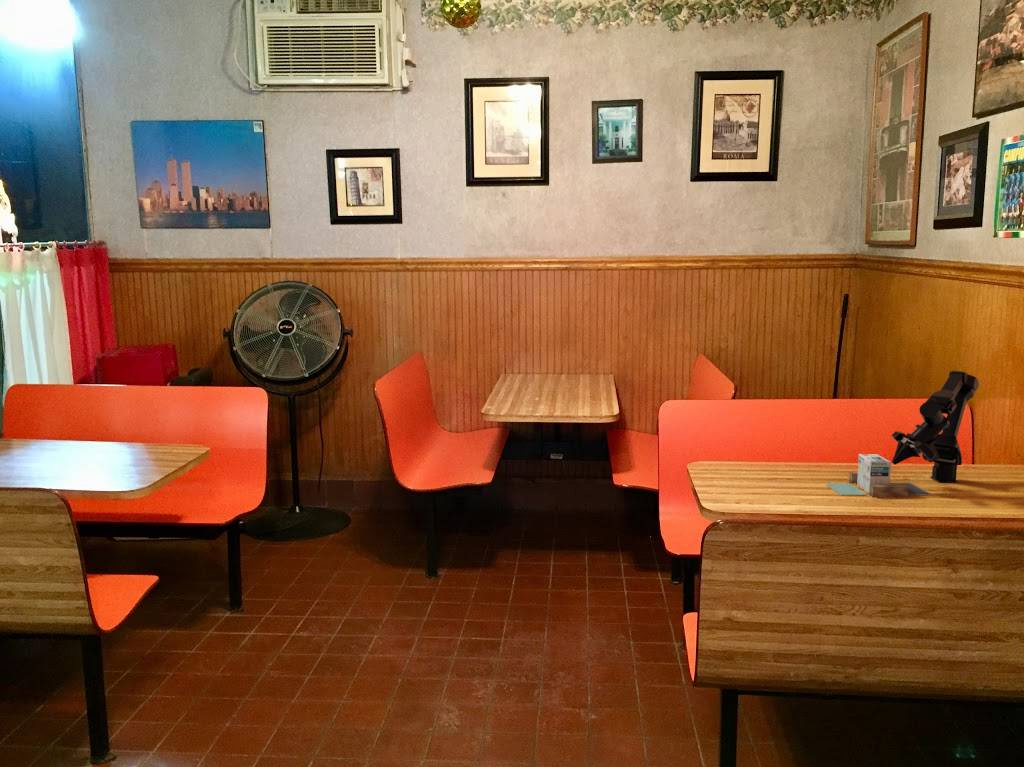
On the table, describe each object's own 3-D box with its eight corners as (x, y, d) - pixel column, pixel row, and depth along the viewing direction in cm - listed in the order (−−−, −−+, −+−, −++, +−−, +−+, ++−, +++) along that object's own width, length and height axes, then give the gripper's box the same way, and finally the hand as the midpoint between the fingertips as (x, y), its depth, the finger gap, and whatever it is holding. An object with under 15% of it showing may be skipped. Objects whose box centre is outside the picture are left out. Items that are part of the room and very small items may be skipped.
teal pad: (849, 484, 281) (849, 483, 281) (866, 495, 268) (866, 494, 268) (825, 484, 281) (825, 483, 281) (841, 495, 268) (841, 494, 268)
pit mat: (910, 483, 282) (910, 482, 282) (932, 495, 268) (932, 494, 268) (886, 483, 282) (887, 482, 282) (907, 495, 268) (907, 494, 268)
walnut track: (881, 481, 284) (882, 471, 283) (907, 497, 266) (908, 486, 266) (848, 482, 283) (849, 472, 283) (872, 497, 266) (873, 486, 265)
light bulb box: (890, 494, 269) (892, 461, 268) (868, 494, 270) (870, 461, 268) (876, 485, 280) (878, 453, 278) (855, 485, 280) (857, 453, 278)
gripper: (961, 453, 263) (924, 488, 265) (930, 440, 282) (895, 472, 283) (938, 428, 262) (901, 464, 263) (908, 417, 280) (874, 450, 282)
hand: (893, 463), depth 273 cm, fingers closed
